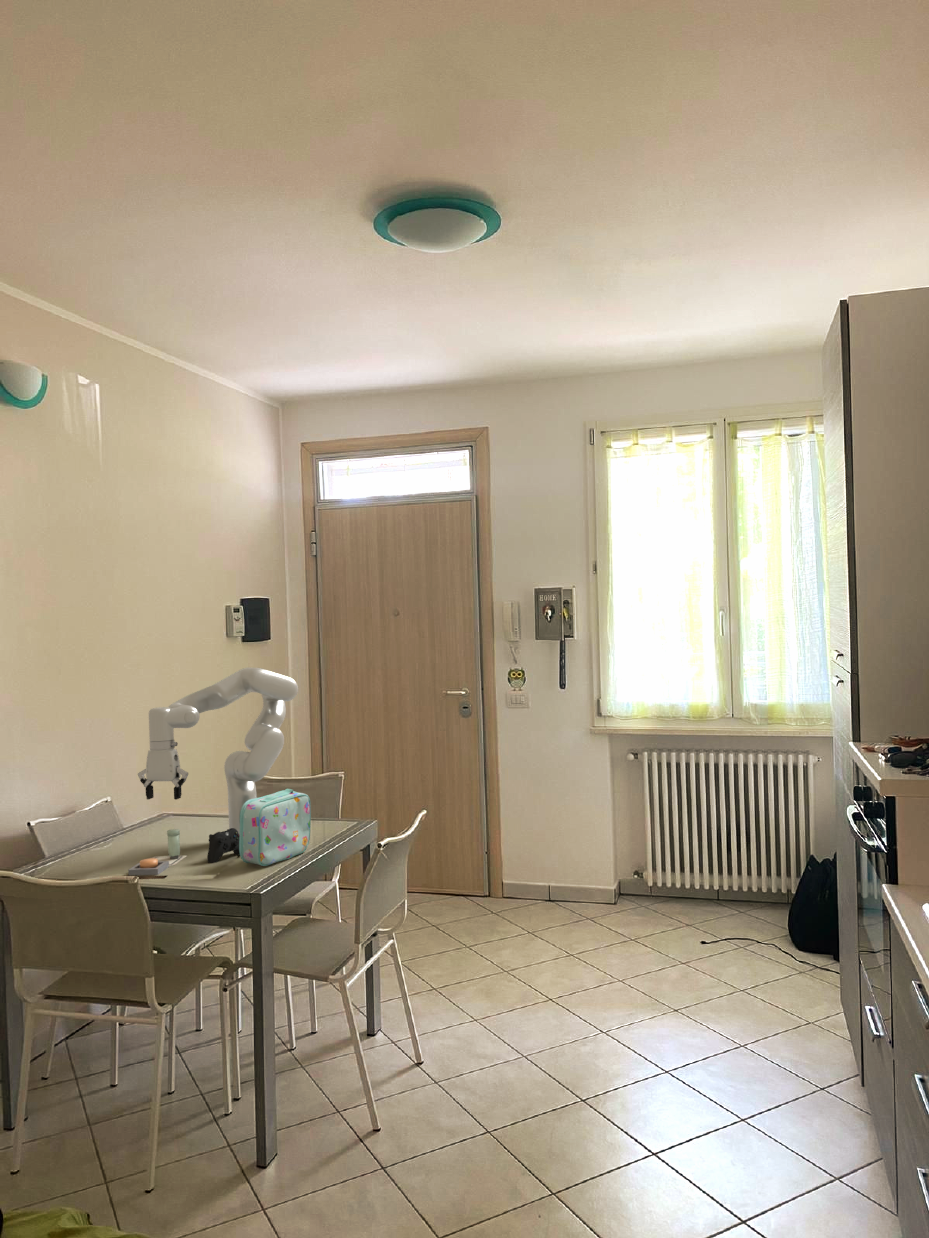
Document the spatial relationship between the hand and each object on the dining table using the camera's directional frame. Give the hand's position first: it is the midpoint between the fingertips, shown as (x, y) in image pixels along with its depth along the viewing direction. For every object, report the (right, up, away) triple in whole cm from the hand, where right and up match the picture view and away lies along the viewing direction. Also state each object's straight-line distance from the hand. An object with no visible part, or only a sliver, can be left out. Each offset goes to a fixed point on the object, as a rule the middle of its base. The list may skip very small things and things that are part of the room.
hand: (163, 798), depth 302 cm
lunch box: (+37, -19, -4) cm, 42 cm away
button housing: (+1, -20, -17) cm, 26 cm away
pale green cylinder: (+4, -19, -3) cm, 19 cm away
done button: (+1, -17, -17) cm, 24 cm away
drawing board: (+1, -20, -10) cm, 22 cm away
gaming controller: (+21, -19, -4) cm, 29 cm away
